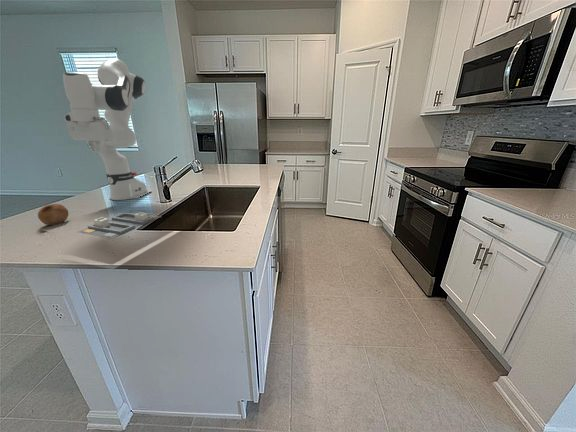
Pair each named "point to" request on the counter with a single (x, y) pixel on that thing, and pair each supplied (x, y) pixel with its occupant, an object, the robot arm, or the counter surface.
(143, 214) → the tab
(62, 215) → the onion
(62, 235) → the counter surface
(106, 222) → the tab
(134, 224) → the switch bank
